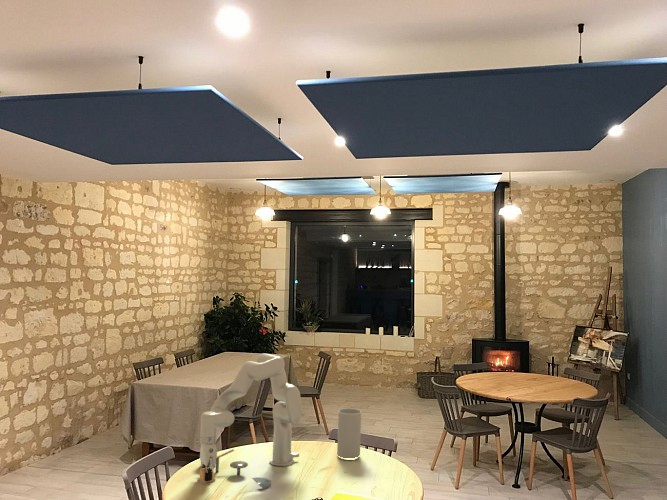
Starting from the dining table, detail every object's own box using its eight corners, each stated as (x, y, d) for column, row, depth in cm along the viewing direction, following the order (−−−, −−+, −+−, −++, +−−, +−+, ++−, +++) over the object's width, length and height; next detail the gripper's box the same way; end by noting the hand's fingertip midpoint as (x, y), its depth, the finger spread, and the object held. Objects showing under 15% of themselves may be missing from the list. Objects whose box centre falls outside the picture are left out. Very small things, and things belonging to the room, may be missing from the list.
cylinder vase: (362, 460, 285) (363, 413, 287) (339, 461, 283) (341, 414, 284) (356, 453, 298) (357, 408, 299) (334, 453, 295) (336, 408, 296)
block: (209, 477, 251) (210, 467, 251) (213, 481, 246) (213, 470, 247) (199, 479, 248) (199, 468, 248) (202, 483, 244) (203, 472, 244)
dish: (264, 478, 256) (264, 475, 256) (274, 487, 246) (275, 484, 246) (241, 482, 250) (241, 480, 250) (250, 492, 240) (251, 489, 240)
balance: (239, 469, 266) (239, 446, 267) (249, 479, 254) (250, 455, 255) (190, 477, 254) (191, 454, 254) (199, 488, 241) (201, 463, 242)
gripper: (222, 443, 243) (220, 483, 242) (210, 433, 257) (208, 471, 257) (206, 445, 239) (204, 486, 238) (194, 435, 254) (193, 473, 253)
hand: (206, 478), depth 247 cm, fingers closed on block, 5 cm apart
